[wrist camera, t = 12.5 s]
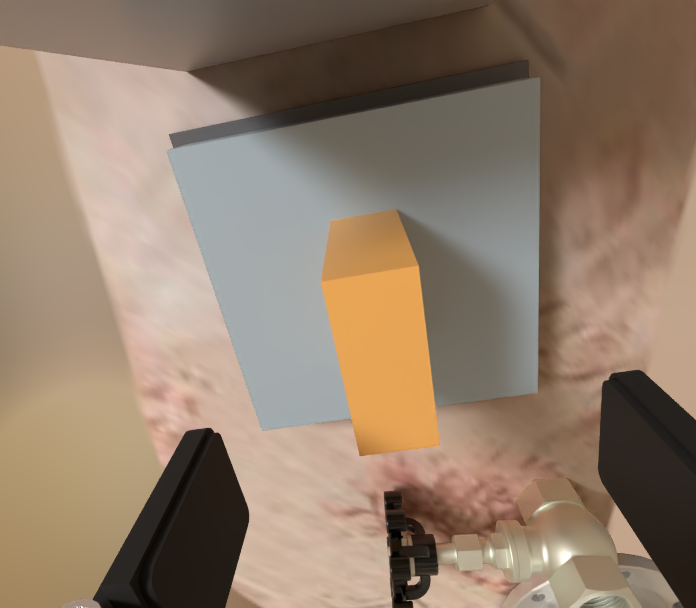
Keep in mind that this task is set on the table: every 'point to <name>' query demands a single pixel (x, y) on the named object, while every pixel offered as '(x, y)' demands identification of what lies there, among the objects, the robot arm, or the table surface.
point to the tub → (200, 26)
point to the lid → (377, 259)
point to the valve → (518, 550)
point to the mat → (356, 103)
